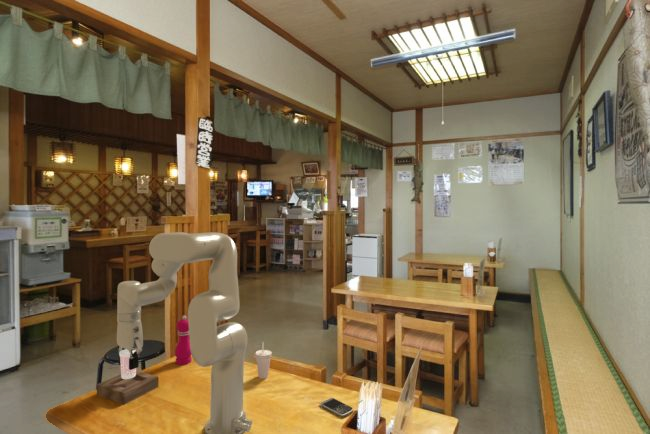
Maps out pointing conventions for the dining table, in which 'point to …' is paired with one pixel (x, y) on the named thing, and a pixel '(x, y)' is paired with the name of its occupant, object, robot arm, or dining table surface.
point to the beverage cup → (126, 365)
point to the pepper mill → (183, 343)
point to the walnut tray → (127, 387)
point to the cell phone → (336, 407)
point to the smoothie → (263, 362)
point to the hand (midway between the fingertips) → (128, 365)
